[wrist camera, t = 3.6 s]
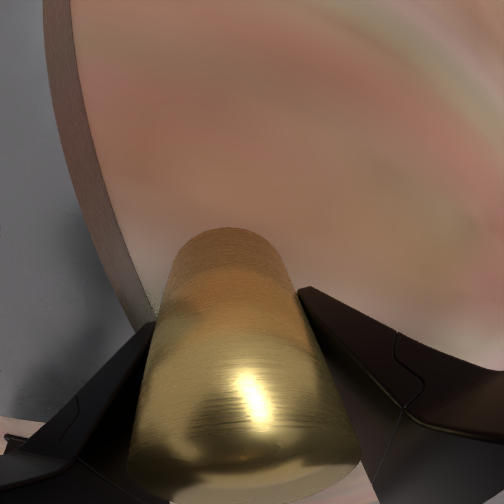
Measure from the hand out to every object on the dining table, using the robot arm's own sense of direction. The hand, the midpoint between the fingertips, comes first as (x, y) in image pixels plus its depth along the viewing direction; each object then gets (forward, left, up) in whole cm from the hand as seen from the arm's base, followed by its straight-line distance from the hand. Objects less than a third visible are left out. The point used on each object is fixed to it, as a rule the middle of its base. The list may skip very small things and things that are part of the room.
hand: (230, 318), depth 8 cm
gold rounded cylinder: (0, 0, -2) cm, 2 cm away
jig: (+4, +11, -2) cm, 12 cm away
